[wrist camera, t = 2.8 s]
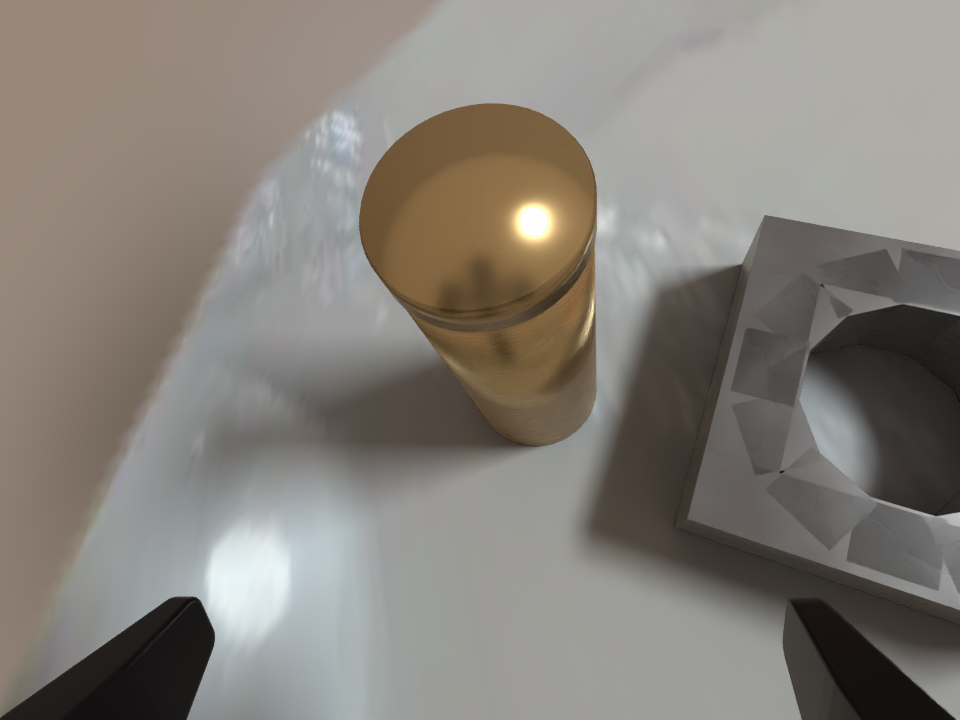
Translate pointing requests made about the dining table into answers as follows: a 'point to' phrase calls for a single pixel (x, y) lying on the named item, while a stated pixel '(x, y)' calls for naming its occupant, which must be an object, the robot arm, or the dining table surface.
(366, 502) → the dining table surface
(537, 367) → the gold metallic cylinder
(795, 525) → the block
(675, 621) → the dining table surface
